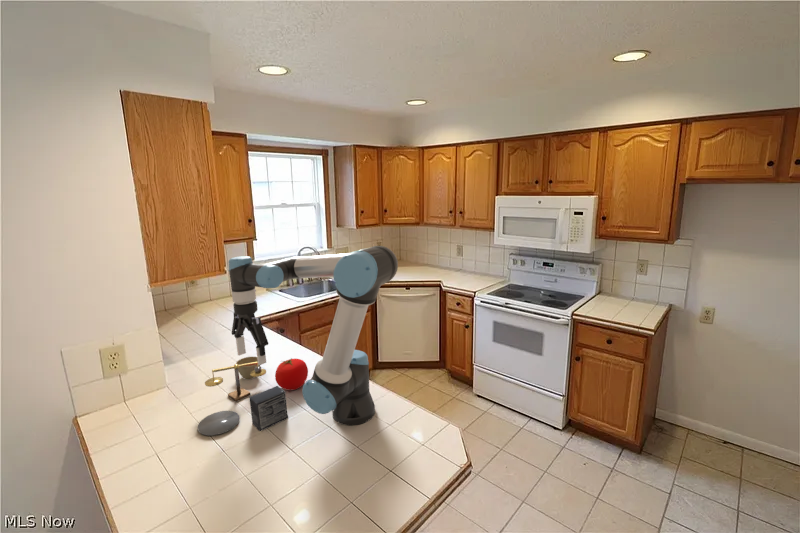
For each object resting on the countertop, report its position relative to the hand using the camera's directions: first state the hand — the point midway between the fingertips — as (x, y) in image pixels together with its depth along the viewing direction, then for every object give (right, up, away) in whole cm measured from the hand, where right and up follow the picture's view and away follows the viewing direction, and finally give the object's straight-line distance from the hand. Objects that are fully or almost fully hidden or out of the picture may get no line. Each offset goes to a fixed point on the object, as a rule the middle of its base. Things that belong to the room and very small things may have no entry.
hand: (251, 358), depth 135 cm
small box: (+7, -21, -3) cm, 23 cm away
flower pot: (-12, -15, +29) cm, 34 cm away
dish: (-9, -22, -5) cm, 24 cm away
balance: (-10, -18, +13) cm, 24 cm away
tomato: (+9, -16, +20) cm, 27 cm away
